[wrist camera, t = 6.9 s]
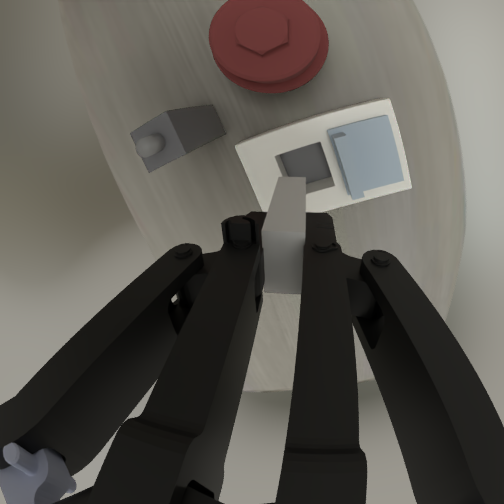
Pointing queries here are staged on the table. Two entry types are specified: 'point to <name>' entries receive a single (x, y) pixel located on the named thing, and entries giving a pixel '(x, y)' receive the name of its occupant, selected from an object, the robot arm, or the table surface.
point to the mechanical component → (268, 43)
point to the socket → (314, 157)
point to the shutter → (366, 155)
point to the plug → (176, 134)
